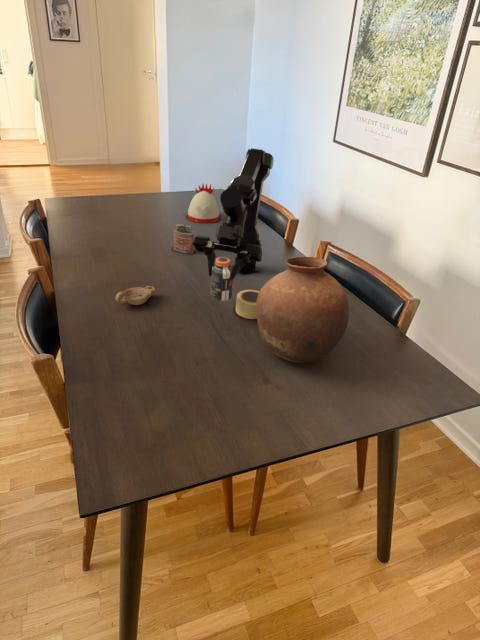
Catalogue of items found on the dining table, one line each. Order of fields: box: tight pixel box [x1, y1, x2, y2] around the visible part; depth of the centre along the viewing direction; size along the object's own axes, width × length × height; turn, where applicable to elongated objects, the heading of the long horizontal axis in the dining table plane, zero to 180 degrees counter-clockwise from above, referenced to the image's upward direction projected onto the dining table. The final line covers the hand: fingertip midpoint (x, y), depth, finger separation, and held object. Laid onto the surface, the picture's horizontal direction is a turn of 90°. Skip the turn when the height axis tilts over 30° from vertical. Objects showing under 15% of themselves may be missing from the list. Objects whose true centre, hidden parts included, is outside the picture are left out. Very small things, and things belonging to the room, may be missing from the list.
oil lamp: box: [115, 285, 156, 306], centre depth 130 cm, size 13×8×5 cm, turn 135°
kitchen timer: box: [187, 183, 220, 224], centre depth 195 cm, size 14×14×15 cm
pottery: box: [256, 256, 350, 364], centre depth 111 cm, size 23×23×25 cm
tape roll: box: [235, 289, 260, 320], centre depth 131 cm, size 9×9×5 cm
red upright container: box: [173, 223, 195, 255], centre depth 163 cm, size 8×3×10 cm, turn 68°
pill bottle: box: [210, 256, 234, 302], centre depth 122 cm, size 6×6×11 cm
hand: (220, 277), depth 121 cm, fingers closed on pill bottle, 6 cm apart
